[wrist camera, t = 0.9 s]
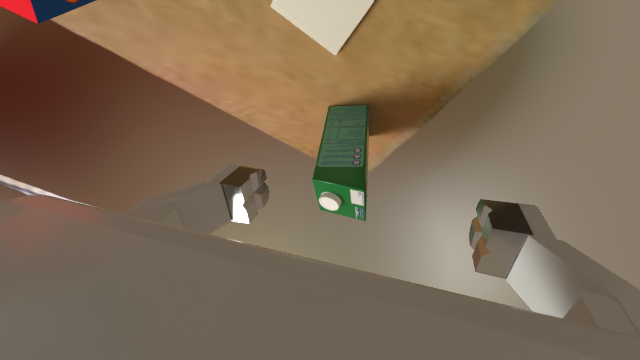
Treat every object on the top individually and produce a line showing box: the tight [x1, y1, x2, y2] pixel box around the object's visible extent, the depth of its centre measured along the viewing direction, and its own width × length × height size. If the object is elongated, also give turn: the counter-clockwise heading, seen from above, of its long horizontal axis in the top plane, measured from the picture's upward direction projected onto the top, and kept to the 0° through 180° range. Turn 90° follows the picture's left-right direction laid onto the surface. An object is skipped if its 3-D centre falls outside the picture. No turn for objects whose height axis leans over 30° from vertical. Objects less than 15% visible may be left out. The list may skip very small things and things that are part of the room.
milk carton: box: [312, 105, 369, 221], centre depth 54 cm, size 9×9×25 cm
